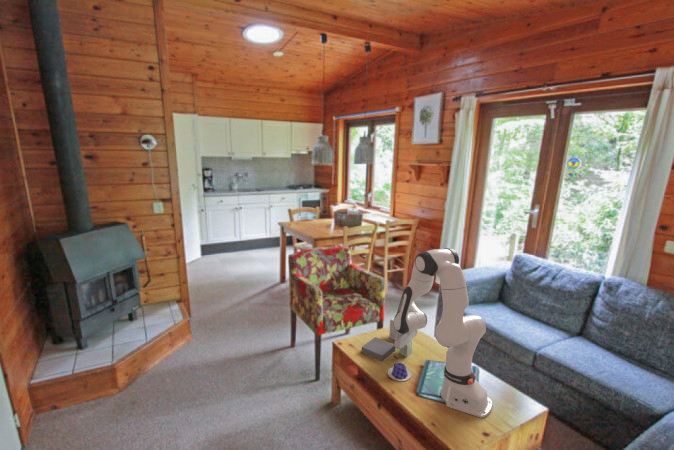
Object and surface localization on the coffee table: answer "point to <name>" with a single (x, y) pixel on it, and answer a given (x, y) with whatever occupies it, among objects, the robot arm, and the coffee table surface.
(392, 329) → the supplement box
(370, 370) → the coffee table surface
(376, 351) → the base block
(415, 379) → the coffee table surface
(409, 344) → the sage block
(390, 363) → the coffee table surface
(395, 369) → the pudding
